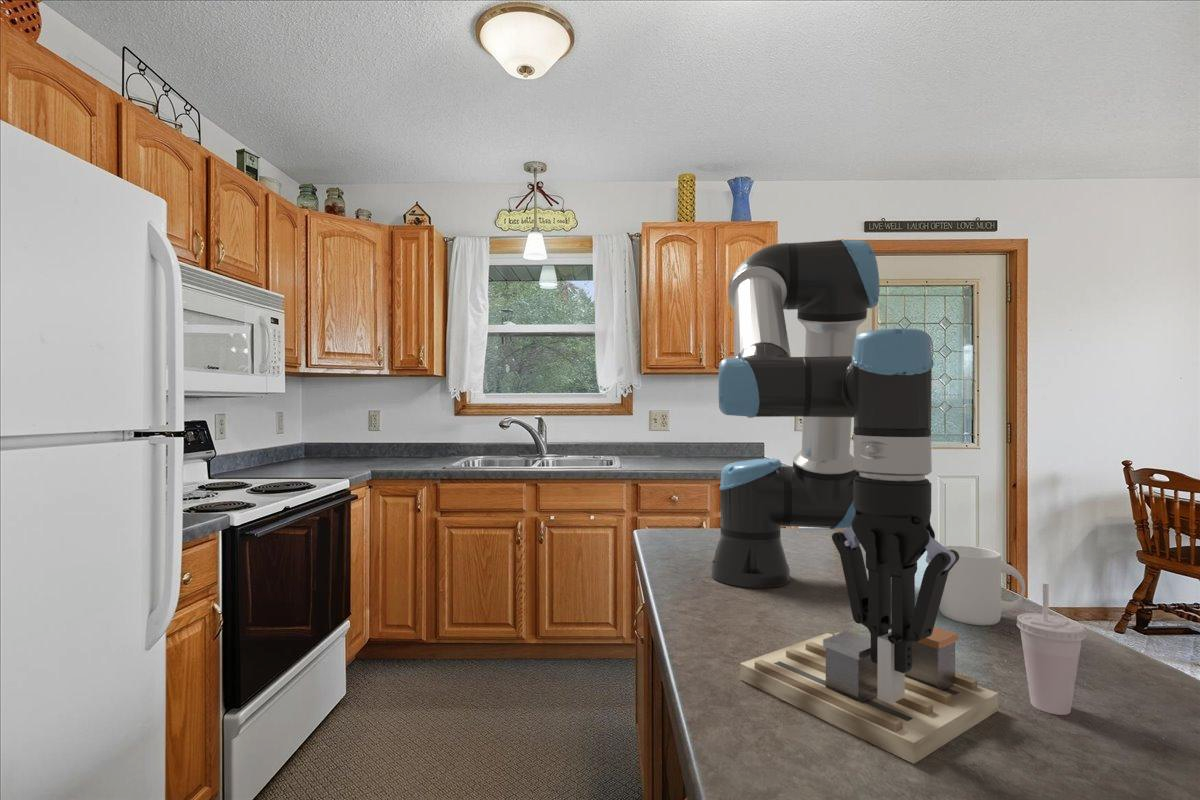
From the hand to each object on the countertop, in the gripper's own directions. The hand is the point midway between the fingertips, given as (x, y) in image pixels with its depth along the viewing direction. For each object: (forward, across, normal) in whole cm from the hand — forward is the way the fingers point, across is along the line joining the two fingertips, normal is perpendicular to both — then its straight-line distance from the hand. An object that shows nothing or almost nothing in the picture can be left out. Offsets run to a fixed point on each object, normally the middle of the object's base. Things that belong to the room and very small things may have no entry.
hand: (891, 697), depth 65 cm
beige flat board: (+3, -6, +5) cm, 9 cm away
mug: (+4, -10, +45) cm, 46 cm away
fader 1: (+1, -4, 0) cm, 5 cm away
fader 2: (+1, -1, +10) cm, 10 cm away
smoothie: (+4, +8, +20) cm, 22 cm away
